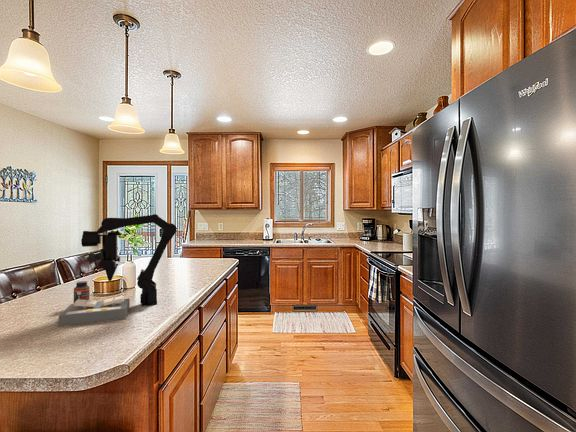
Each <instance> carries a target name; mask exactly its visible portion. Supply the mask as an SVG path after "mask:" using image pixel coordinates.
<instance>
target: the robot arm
mask: <svg viewBox="0 0 576 432" xmlns="http://www.w3.org/2000/svg"><path fill="white" fill-rule="evenodd" d="M151 223H153V224H155V225H156V226H158V228H160V229H161V230H162V233H161V236H160V240H159V242H158V244H157V246H156V248H155V250H154V252H153V254H152V256H151V258H150V260H149V262H148V264H147V266H146V268H145V269H143V268H142V269H141V270H140V272H139V273H140V274H138V276H137V278H136V280H137V283H136V285H137V287H138V288H140V289H141V293H140V296H139V297H140V300H139V301H140V304H141V307H143V306H144V307H145V306H154V305H157V304H158V291H157V290H158V289H157V282H155V281H154V280H153V278H154V275H155V271H156V268H157V267H158V264H159V263H160V260H161V258H162V256H163V254H164V252H165V250H166V247H167V246H168V244H169V242H170V241H171V240H172V238H173V237H174V235H176V233H177V231H178V229H177V226H176V225H175V224H174V223H171V222H169V223H168V222H167V221H166V220H165V219H163V218H162V217H160V216H159V215H158V214H156V213H153V214H150V215H142V216H141V215H140V216H134V217H133V216H132V217H106V218H104V219H103V220H102V221H101V226H100V227H99V228H98V229H97V230H95V231H89V230H83V231H82V235H81V240H80V242H81V243H80V244H81V247H83V248H86V247H98V246H99V245H100V244H102V245H101V246H102V247H101V249H100V251H99V252H97V253H95V252H92V253H89V254H88V255H87V256H86V261H87V262H88V264H89V265H90V264H94V262H98V261H99V262H98V263H97V269H103V270H105V274H106V277H107V281H108V282H112V280H113V277H114V276H115V274H116V271H117V269H118V266H119V263H121V257H120V256H119V255H118V250H119V247H118V236H119V237H120V236H122V235H123V233H121V231H119V230H118V229H121V228H124V227H127V226H128V227H129V226H137V225H144V224H151ZM115 230H116V231H115ZM106 232H107V233H106ZM103 233H104V234H103Z"/></svg>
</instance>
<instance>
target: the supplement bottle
mask: <svg viewBox="0 0 576 432" xmlns="http://www.w3.org/2000/svg"><path fill="white" fill-rule="evenodd" d="M75 283H76V284H75V285H76V286H74V288H73V304H74V303H75V302H76V301H77V300H78V299H79V300H90V295H91V294H90V291H91V290H90V286H89V285H88V281H86V280H81V281H80V280H79V281H76V282H75Z"/></svg>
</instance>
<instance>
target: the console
mask: <svg viewBox="0 0 576 432" xmlns="http://www.w3.org/2000/svg"><path fill="white" fill-rule="evenodd" d="M104 301H105V300H102V301H101V300H100V301H98V300H97V304H96V305H95V307H88V306H74V303H71V304H69V305H68V306H67V307H66V308H65V309H64V310H63V311H62V312H61V313H60V314H59V315H58V327H66V326H67V327H69V326H74V325H83V324H93V323H101V322H110V321H117V320H118V321H119V320H126V319H127V316H128V313H129V310H130V306H131V305H130V298H124V300H123V301H121V302H117V303H113V304H109V305H105V306H104V304H103V303H104Z"/></svg>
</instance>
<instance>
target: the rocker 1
mask: <svg viewBox="0 0 576 432" xmlns="http://www.w3.org/2000/svg"><path fill="white" fill-rule="evenodd" d="M97 302H98V300H97V299H96V300H95V299H89V300H79V299H78V300H77V301H76V302H75V303H74V302H73V304H74V306H88V307H95V305H96V304H97Z"/></svg>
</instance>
